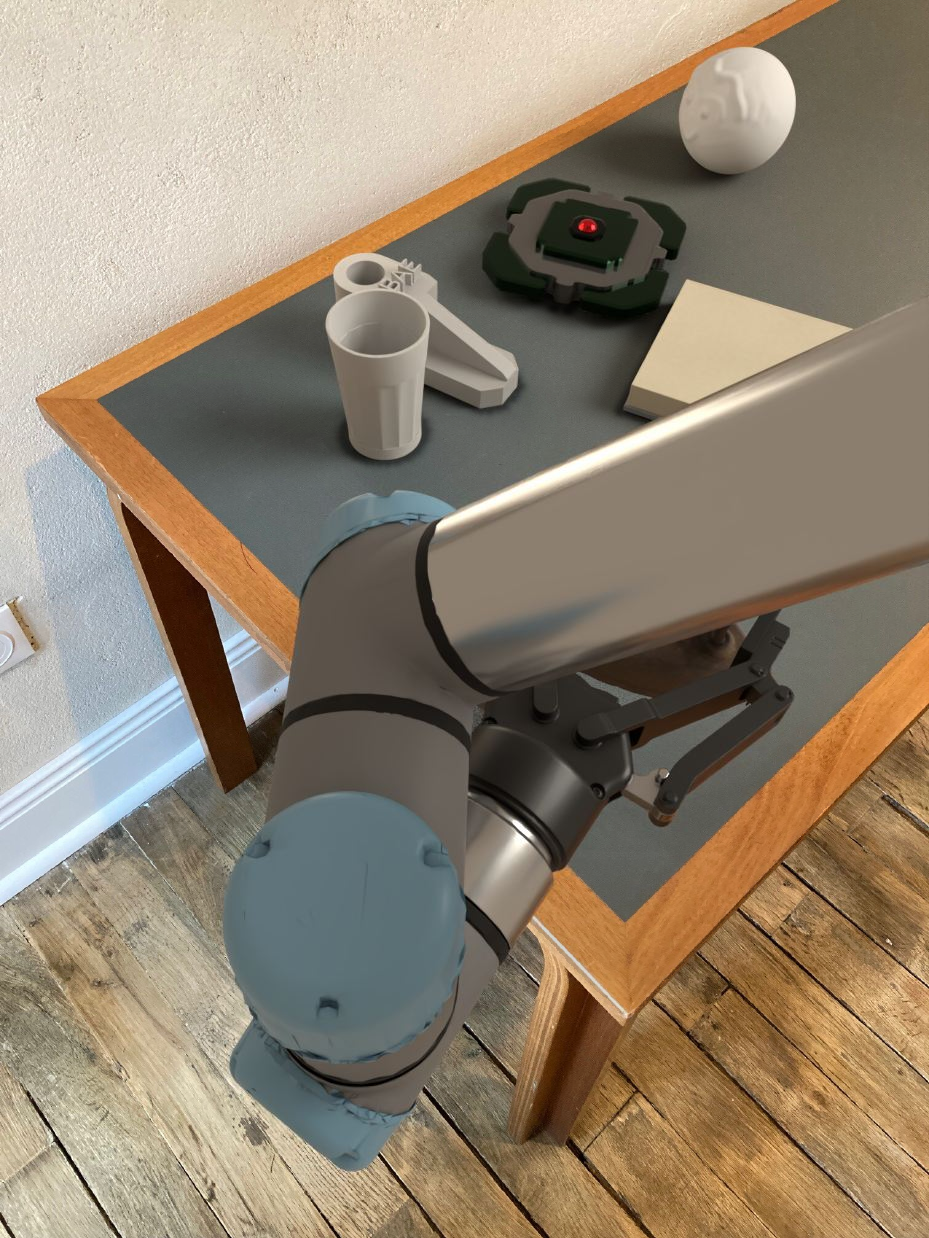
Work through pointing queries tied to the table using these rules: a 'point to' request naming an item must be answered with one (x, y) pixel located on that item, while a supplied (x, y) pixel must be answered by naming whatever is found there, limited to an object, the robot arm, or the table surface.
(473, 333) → the grey mounting bracket
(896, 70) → the table surface
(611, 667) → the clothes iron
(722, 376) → the cream flat slab
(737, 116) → the decorative ball
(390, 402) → the cup
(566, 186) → the clover-shaped pad
